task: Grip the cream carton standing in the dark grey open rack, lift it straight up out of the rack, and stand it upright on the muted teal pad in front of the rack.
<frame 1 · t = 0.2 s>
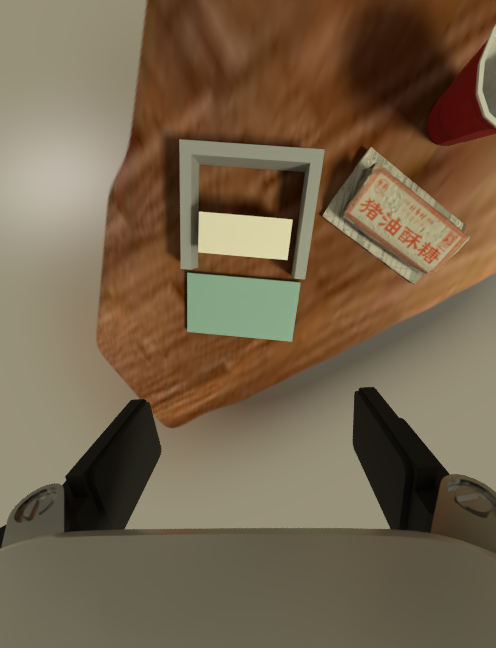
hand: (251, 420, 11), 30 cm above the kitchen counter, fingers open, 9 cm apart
pad: (241, 307, 40), on the kitchen counter
plastic cup: (447, 122, 31), on the kitchen counter
rack: (246, 237, 37), on the kitchen counter
packaged product: (388, 222, 36), on the kitchen counter
carton: (246, 237, 37), on the kitchen counter
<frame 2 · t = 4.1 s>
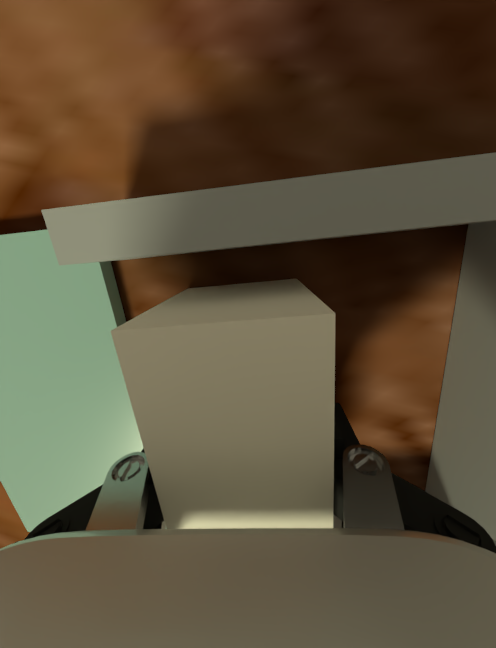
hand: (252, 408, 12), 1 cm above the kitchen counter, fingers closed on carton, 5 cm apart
pad: (62, 405, 14), on the kitchen counter
rack: (255, 396, 13), on the kitchen counter
carton: (253, 396, 13), on the kitchen counter, touching gripper
when the fingers open (3 cm above the kitchen counter, at t = 11.1 s): carton stays where it is, resting on pad.
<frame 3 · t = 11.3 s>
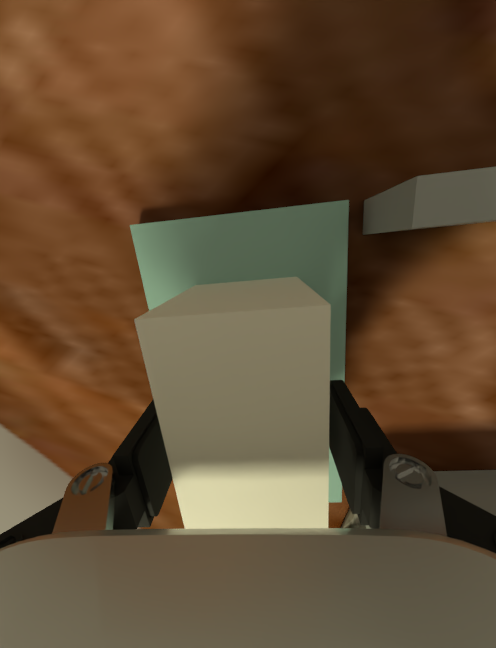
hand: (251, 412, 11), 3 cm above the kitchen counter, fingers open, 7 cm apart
pad: (253, 379, 14), on the kitchen counter
rack: (450, 367, 13), on the kitchen counter
carton: (255, 387, 14), point 1 cm above the kitchen counter, touching pad
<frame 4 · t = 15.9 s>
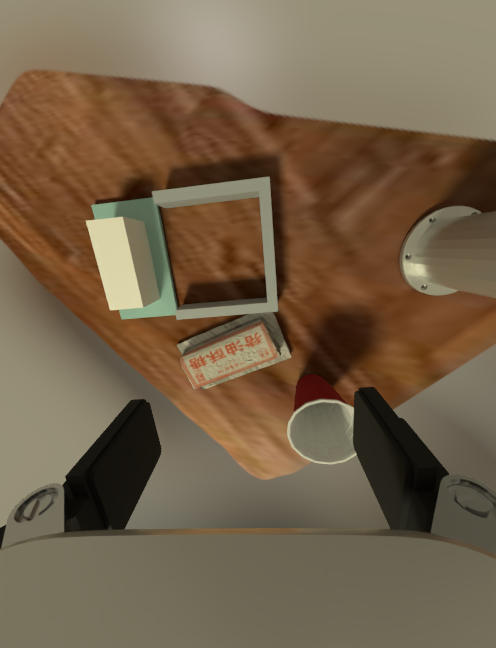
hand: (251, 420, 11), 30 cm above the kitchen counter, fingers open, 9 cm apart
pad: (139, 262, 39), on the kitchen counter
plastic cup: (310, 386, 45), on the kitchen counter
rack: (205, 256, 38), on the kitchen counter
packaged product: (234, 347, 44), on the kitchen counter
carton: (137, 263, 38), point 1 cm above the kitchen counter, touching pad
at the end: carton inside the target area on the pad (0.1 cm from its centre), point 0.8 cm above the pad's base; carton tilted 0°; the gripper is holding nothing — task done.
